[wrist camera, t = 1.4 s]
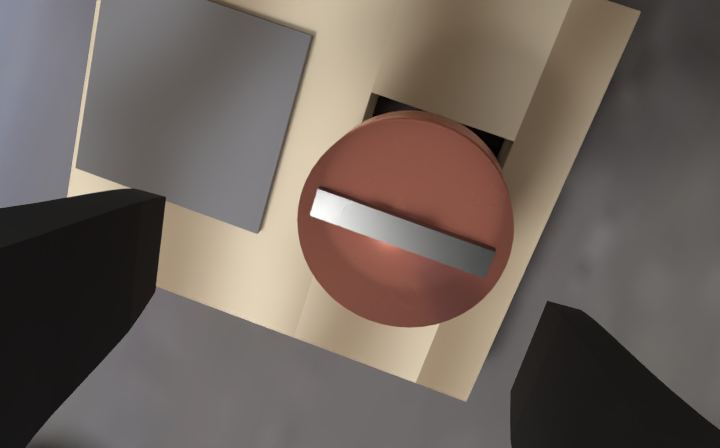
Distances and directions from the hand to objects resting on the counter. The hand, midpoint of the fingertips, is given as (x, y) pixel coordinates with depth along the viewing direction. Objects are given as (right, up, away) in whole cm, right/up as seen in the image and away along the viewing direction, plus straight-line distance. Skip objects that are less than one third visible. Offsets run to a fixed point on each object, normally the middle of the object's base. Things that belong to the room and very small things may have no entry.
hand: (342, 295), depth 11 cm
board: (-1, +4, +10) cm, 11 cm away
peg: (+2, +3, +10) cm, 11 cm away
